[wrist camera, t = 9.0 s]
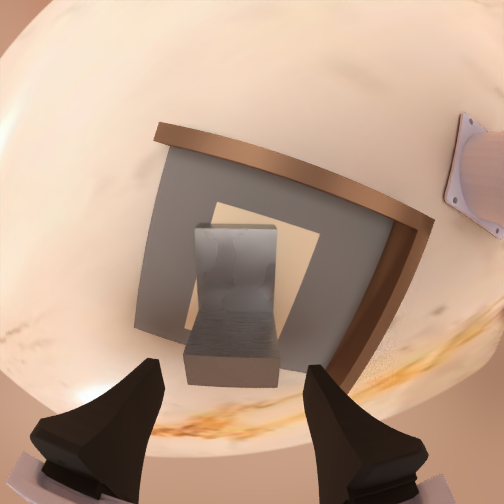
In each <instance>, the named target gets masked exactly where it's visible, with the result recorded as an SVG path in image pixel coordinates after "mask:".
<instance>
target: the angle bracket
mask: <svg viewBox="0 0 504 504" xmlns="http://www.w3.org/2000/svg"><path fill="white" fill-rule="evenodd" d="M276 248H277V228H276V226H275V225H273V224H199V225H198V226H197V227H196V228H195V255H196V276H197V293H198V308H199V311H198V313H197V316H196V319H195V322H194V325H193V327H192V330H191V333H190V336H189V339H188V342H187V345H186V348H185V350H184V353H183V357H184V364H185V370H186V376H187V382H188V385H200V386H215V387H239V388H277V386H278V377H279V367H280V352H279V345H278V339H277V333H276V326H275V320H274V314H273V307H274V289H275V269H276Z"/></svg>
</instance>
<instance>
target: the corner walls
mask: <svg viewBox="0 0 504 504" xmlns="http://www.w3.org/2000/svg"><path fill="white" fill-rule="evenodd" d="M153 141H156V142H159V143H162V144H165V145H168V146H172V147H176V148H181V149H185V150H189V151H193V152H197V153H201V154H205V155H208V156H212V157H216V158H219V159H223V160H227V161H230V162H234V163H237V164H241V165H244V166H247V167H251V168H254V169H257V170H260V171H264V172H267V173H270V174H273V175H276V176H279V177H282V178H285V179H288V180H291V181H294V182H297V183H300V184H303V185H306V186H308V187H311V188H314V189H317V190H320V191H322V192H325V193H328V194H330V195H333V196H336V197H338V198H341V199H343V200H346V201H348V202H351V203H353V204H356V205H358V206H361V207H363V208H366V209H368V210H371V211H373V212H375V213H378V214H380V215H382V216H385V217H387V218H389V219H391V220H394V223H393V226H392V228H391V231H390V234H389V237H388V239H387V242H386V245H385V247H384V250H383V252H382V255H381V257H380V260H379V262H378V265H377V267H376V269H375V272H374V274H373V276H372V279H371V281H370V283H369V286H368V288H367V290H366V292H365V294H364V297H363V299H362V301H361V303H360V305H359V307H358V309H357V311H356V313H355V315H354V317H353V319H352V321H351V323H350V325H349V327H348V329H347V331H346V333H345V335H344V337H343V339H342V341H341V343H340V344H339V346H338V348H337V350H336V352H335V354H334V355H333V357H332V359H331V361H330V362H329V364H328V366H327V368H326V369H325V370H326V371H327V373H328V374H329V375H330V376H331V377H332V379H333V380H334V381H335V382H336V383H337V384H338V386H339V387H340V388H341V389H342V390H343V391H344V392H345V393H346V394H348V393H349V391H350V390H351V388H352V387H353V385H354V384H355V382H356V381H357V379H358V378H359V376H360V375H361V373H362V372H363V370H364V369H365V367H366V365H367V364H368V362H369V361H370V359H371V357H372V356H373V354H374V352H375V351H376V349H377V347H378V345H379V344H380V342H381V340H382V338H383V337H384V335H385V333H386V331H387V329H388V328H389V326H390V324H391V322H392V320H393V318H394V316H395V314H396V312H397V310H398V308H399V306H400V304H401V302H402V300H403V298H404V296H405V294H406V292H407V290H408V287H409V285H410V283H411V281H412V278H413V276H414V274H415V271H416V269H417V267H418V264H419V262H420V259H421V257H422V254H423V252H424V249H425V246H426V244H427V241H428V238H429V236H430V233H431V230H432V227H433V224H434V221H435V220H434V219H432V218H430V217H429V216H427V215H425V214H423V213H421V212H419V211H417V210H415V209H413V208H411V207H409V206H407V205H405V204H403V203H401V202H399V201H397V200H395V199H393V198H391V197H389V196H386V195H384V194H382V193H380V192H378V191H376V190H373V189H371V188H369V187H367V186H364V185H362V184H360V183H357V182H355V181H353V180H350V179H348V178H345V177H343V176H340V175H338V174H335V173H333V172H330V171H328V170H325V169H323V168H320V167H317V166H315V165H312V164H309V163H306V162H304V161H301V160H298V159H295V158H292V157H289V156H286V155H283V154H280V153H277V152H274V151H271V150H268V149H265V148H262V147H258V146H255V145H252V144H248V143H245V142H242V141H238V140H234V139H231V138H227V137H223V136H220V135H216V134H212V133H208V132H204V131H200V130H195V129H191V128H186V127H182V126H177V125H173V124H168V123H163V122H159V124H158V127H157V131H156V134H155V137H154V140H153Z"/></svg>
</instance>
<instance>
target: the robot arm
mask: <svg viewBox="0 0 504 504" xmlns="http://www.w3.org/2000/svg"><path fill="white" fill-rule="evenodd" d="M469 121H470V122H469ZM444 198H445V202H446V203H447V204H449V205H450V206H452V207H454V208H455V209H457V210H458V211H460V212H461V213H463V214H464V215H466V216H467V217H469V218H470V219H472V220H473V221H475V222H476V223H477V224H479V225H480V226H482V227H483V228H484V229H486V230H487V231H489V232H490V233H491V234H493V235H494V236H495V237H497V238H498V239H500V240H501V239H502V238H503V237H504V132H489V133H488V132H487V131H486V130H485V129H484V128H483V127H482V126H481V125H480V124H479V123H478V122H477V121H475V120H474V119H473V118H472V117H471V116H470V115H469V114H467V113H462V114H461V118H460V125H459V132H458V138H457V144H456V149H455V154H454V159H453V163H452V168H451V172H450V176H449V180H448V184H447V188H446V192H445V196H444ZM453 199H454V202H453ZM164 391H165V386H164V381H163V377H162V373H161V368H160V363H159V359H152V358H147V359H146V360H144V361H143V362H142V363H141V364H140V365H139V366H138V367H136V368H135V369H134V370H133V371H132V372H131V373H130V374H129V375H127V376H126V377H125V378H124V379H123V380H121V381H120V382H119V383H118V384H116V385H115V386H114V387H112V388H111V389H110V390H108V391H107V392H106V393H104V394H103V395H101V396H99V397H98V398H96V399H94V400H93V401H91V402H89V403H87V404H85V405H82V406H80V407H78V408H76V409H74V410H71V411H68V412H65V413H62V414H59V415H56V416H51V417H47V418H42V419H40V421H39V422H38V424H37V425H36V427H35V428H34V430H33V431H32V433H31V434H30V439H31V441H32V443H33V444H34V446H35V447H36V448H37V449H38V450H39V451H40V453H41V454H42V455H43V456H44V457H45V458H46V462H45V464H44V463H43V462H42V461H40V460H39V459H37V458H35V457H34V456H32V455H30V454H29V453H27V452H25V451H23V452H22V454H21V456H20V457H19V459H18V461H17V462H16V464H15V466H14V468H13V469H12V471H11V473H10V475H9V477H8V478H7V480H6V484H7V485H8V486H10V487H11V488H12V489H13V490H14V491H15V492H17V493H18V494H19V495H20V496H22V497H23V498H24V499H26V500H27V501H28V502H30V503H31V504H138V501H139V489H140V480H141V473H142V467H143V461H144V457H145V452H146V447H147V444H148V440H149V437H150V434H151V432H152V429H153V426H154V424H155V421H156V418H157V416H158V413H159V410H160V408H161V405H162V401H163V396H164ZM303 401H304V409H305V414H306V418H307V422H308V426H309V430H310V433H311V437H312V441H313V445H314V450H315V456H316V463H317V473H318V483H319V498H320V499H319V500H320V504H456V502H455V500H454V497H453V495H452V493H451V491H450V489H449V487H448V484H447V482H446V480H445V478H444V476H443V474H439V475H437V476H435V477H433V478H430V479H428V480H426V481H424V482H422V483H420V484H418V485H416V483H415V481H416V480H417V476H416V471H417V470H418V469H419V468H420V467H421V466H422V465H423V464H424V463H425V461H426V460H427V458H428V452H427V451H426V448H425V446H424V444H423V443H422V441H421V440H420V439H418V438H415V437H412V436H410V435H407V434H404V433H402V432H399V431H397V430H395V429H393V428H391V427H389V426H387V425H386V424H384V423H382V422H381V421H379V420H377V419H376V418H374V417H373V416H371V415H370V414H369V413H367V412H366V411H365V410H363V409H362V408H361V407H360V406H359V405H357V404H356V403H355V402H354V401H353V400H352V399H351V398H350V397H349V396H348V395H347V394H346V393H345V392H344V391H343V390H342V389H341V388H340V387H339V386H338V384H337V383H336V382H335V381H334V380H333V379H332V377H331V376H330V375H329V374H328V373H327V371H326V370H325V369H324V368H323V366H322V365H321V364H318V365H308V369H307V374H306V380H305V385H304V390H303Z"/></svg>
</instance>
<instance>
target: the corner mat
mask: <svg viewBox="0 0 504 504" xmlns="http://www.w3.org/2000/svg"><path fill="white" fill-rule="evenodd" d="M393 223H394V220H391V219H389V218H387V217H385V216H382V215H380V214H378V213H375V212H373V211H371V210H368V209H366V208H363V207H361V206H358V205H356V204H353V203H351V202H348V201H346V200H343V199H341V198H338V197H336V196H333V195H330V194H328V193H325V192H322V191H320V190H317V189H314V188H311V187H308V186H306V185H303V184H300V183H297V182H294V181H291V180H288V179H285V178H282V177H279V176H276V175H273V174H270V173H267V172H264V171H260V170H257V169H254V168H251V167H247V166H244V165H241V164H237V163H234V162H230V161H227V160H223V159H219V158H216V157H212V156H208V155H205V154H201V153H197V152H193V151H189V150H185V149H181V148H176V147H172V146H170V148H169V152H168V155H167V159H166V162H165V166H164V169H163V173H162V177H161V181H160V185H159V188H158V192H157V197H156V201H155V205H154V209H153V214H152V218H151V223H150V228H149V232H148V237H147V243H146V248H145V253H144V259H143V265H142V271H141V277H140V284H139V291H138V298H137V306H136V315H135V324H134V328H137V329H139V330H142V331H145V332H148V333H151V334H154V335H156V336H159V337H162V338H165V339H169V340H172V341H175V342H178V343H181V344H184V345H187V342H188V339H189V336H190V333H191V330H192V327H193V325H194V322H195V319H196V316H197V313H198V311H199V308H198V293H197V276H196V255H195V228H196V227H197V226H198V225H199V224H273V225H275V226H276V228H277V248H276V269H275V289H274V307H273V314H274V320H275V326H276V333H277V339H278V345H279V352H280V367H279V368H281V369H286V370H291V371H297V372H303V373H307V369H308V365H318V364H321V365H322V366H323V368H324V369H326V368H327V366H328V364H329V362H330V361H331V359H332V357H333V355H334V354H335V352H336V350H337V348H338V346H339V344H340V343H341V341H342V339H343V337H344V335H345V333H346V331H347V329H348V327H349V325H350V323H351V321H352V319H353V317H354V315H355V313H356V311H357V309H358V307H359V305H360V303H361V301H362V299H363V297H364V294H365V292H366V290H367V288H368V286H369V283H370V281H371V279H372V276H373V274H374V272H375V269H376V267H377V265H378V262H379V260H380V257H381V255H382V252H383V250H384V247H385V245H386V242H387V239H388V237H389V234H390V231H391V228H392V226H393Z"/></svg>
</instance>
